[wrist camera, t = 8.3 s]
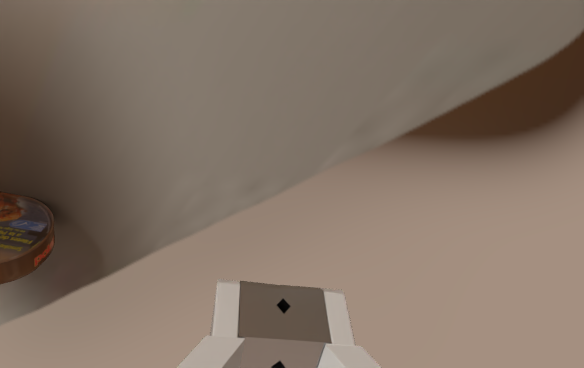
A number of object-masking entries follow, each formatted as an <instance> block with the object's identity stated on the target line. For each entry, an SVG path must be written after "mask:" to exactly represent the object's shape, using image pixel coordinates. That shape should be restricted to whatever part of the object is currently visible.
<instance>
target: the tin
mask: <svg viewBox="0 0 584 368" xmlns="http://www.w3.org/2000/svg"><path fill="white" fill-rule="evenodd" d="M53 226H54V217H53V214H52V212H51V210H50V209H49V208H48V207H47V206H46V205H45V204H43V203H42V202H40V201H38V200H36V199H33V198H30V197H26V196H21V195H15V194H9V193H3V192H0V284H3V283H7V282H11V281H14V280H16V279H19V278H21V277H23V276H26V275H28V274H30V273H31V272H33V271H34V270H35V269H37V268H38V267H39V266H40V265H41V264H42V263H43V262H44V261H45V260H46V258H47V257H48V256H49V255H50V253H51V251H52V249H53V247H54V243H55V235H54V227H53Z"/></svg>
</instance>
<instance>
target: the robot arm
mask: <svg viewBox="0 0 584 368" xmlns="http://www.w3.org/2000/svg"><path fill="white" fill-rule="evenodd" d="M177 368H382V367H381V366H380V365H379V364H378V363H377V362H376V361H375V360H374V359H373V358H372V357H371V356H370V355H369V353H368V352H367V351H366V350H365V349H364V348H363V347H362V346H356V345H355V340H354V335H353V331H352V326H351V322H350V317H349V313H348V308H347V303H346V298H345V294H344V292H343V291H342V290H339V289H326V288H313V287H300V286H287V285H273V284H264V283H254V282H247V281H240V282H239V281H233V280H224V279H218V282H217V288H216V295H215V303H214V309H213V317H212V324H211V332H210V336H207V335H206V336H205V337H204V338H203V339H202V340H201V341H200V342H199V343H198V345H197V346H196V347H195V348H194V349H193V350H192V351H191V352H190V353H189V354H188V355H187V357H186V358H185V359H184V360H183V361H182V362H181V363H180V364H179V365H178V366H177Z"/></svg>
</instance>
